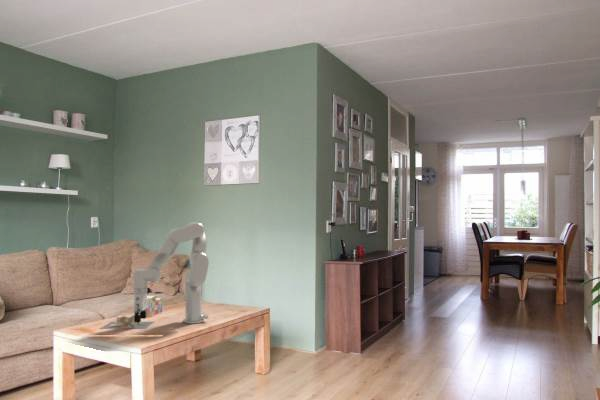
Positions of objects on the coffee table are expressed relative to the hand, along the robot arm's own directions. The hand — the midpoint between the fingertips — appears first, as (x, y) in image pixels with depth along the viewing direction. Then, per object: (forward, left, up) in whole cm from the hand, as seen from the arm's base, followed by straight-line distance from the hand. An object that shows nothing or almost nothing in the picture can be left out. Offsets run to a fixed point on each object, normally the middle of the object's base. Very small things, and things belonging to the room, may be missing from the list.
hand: (140, 320), depth 288 cm
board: (+7, 0, -4) cm, 8 cm away
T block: (+7, 0, -3) cm, 8 cm away
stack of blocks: (+4, -33, -4) cm, 33 cm away
